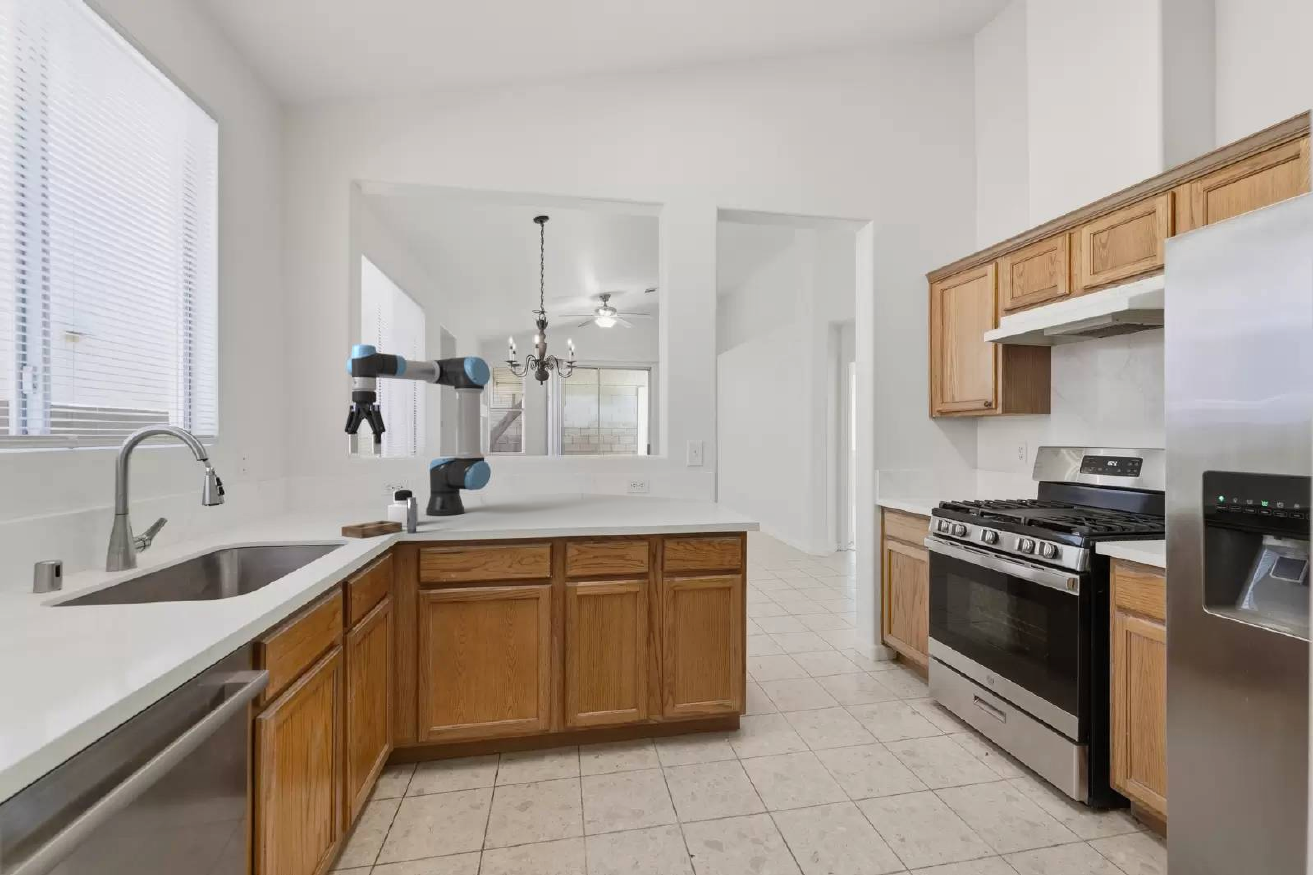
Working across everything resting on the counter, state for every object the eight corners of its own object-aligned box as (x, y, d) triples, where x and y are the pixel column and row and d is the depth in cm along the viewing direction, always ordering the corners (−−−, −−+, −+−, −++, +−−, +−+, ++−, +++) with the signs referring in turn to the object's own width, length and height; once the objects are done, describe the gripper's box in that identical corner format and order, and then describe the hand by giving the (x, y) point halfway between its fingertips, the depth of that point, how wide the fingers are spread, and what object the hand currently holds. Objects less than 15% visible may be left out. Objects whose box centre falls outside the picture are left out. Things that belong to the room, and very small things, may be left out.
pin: (412, 531, 217) (411, 497, 217) (418, 532, 215) (418, 497, 215) (405, 533, 214) (404, 498, 214) (411, 533, 213) (410, 498, 213)
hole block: (382, 528, 223) (382, 520, 223) (402, 530, 218) (401, 522, 218) (341, 535, 209) (341, 527, 209) (361, 538, 204) (361, 529, 204)
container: (418, 523, 234) (417, 489, 234) (408, 527, 227) (407, 491, 227) (398, 523, 235) (398, 489, 235) (387, 526, 228) (387, 491, 227)
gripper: (333, 391, 215) (333, 453, 216) (375, 388, 202) (376, 454, 202) (354, 392, 222) (354, 452, 222) (396, 390, 208) (397, 453, 208)
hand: (364, 453), depth 212 cm, fingers open, 13 cm apart
